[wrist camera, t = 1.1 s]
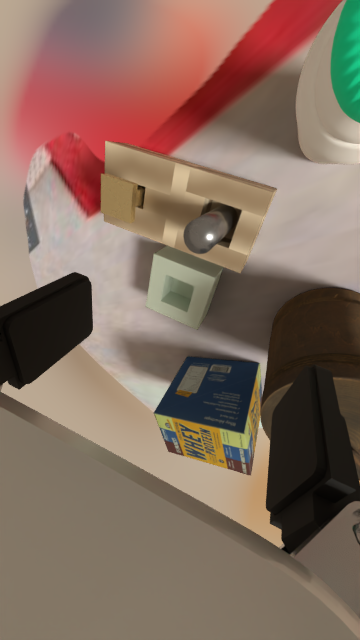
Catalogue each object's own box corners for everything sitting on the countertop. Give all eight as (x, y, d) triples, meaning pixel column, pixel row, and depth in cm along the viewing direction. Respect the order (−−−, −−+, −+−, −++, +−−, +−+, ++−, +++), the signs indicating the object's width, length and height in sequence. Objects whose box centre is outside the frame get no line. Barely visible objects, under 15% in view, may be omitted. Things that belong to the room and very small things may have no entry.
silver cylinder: (217, 201, 32) (187, 214, 24) (241, 209, 32) (219, 225, 23) (209, 226, 34) (180, 247, 26) (232, 234, 34) (209, 258, 25)
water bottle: (294, 101, 25) (273, -92, 6) (378, 58, 22) (950, -708, 3) (302, 174, 28) (305, 198, 9) (378, 146, 25) (652, 89, 5)
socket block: (127, 143, 34) (105, 140, 30) (277, 188, 30) (273, 192, 26) (122, 215, 40) (104, 221, 36) (246, 261, 36) (240, 273, 32)
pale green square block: (168, 245, 40) (153, 253, 36) (223, 266, 38) (215, 278, 34) (158, 294, 46) (145, 306, 42) (206, 315, 44) (197, 329, 40)
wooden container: (310, 379, 42) (316, 524, 25) (254, 321, 41) (220, 433, 24) (410, 343, 33) (526, 534, 16) (343, 265, 31) (393, 385, 14)
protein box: (263, 401, 49) (252, 477, 37) (195, 390, 56) (166, 451, 44) (260, 361, 44) (246, 434, 33) (186, 355, 51) (151, 413, 39)
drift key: (126, 172, 32) (101, 173, 28) (155, 181, 31) (133, 184, 27) (124, 206, 35) (100, 212, 31) (150, 216, 34) (130, 223, 30)
